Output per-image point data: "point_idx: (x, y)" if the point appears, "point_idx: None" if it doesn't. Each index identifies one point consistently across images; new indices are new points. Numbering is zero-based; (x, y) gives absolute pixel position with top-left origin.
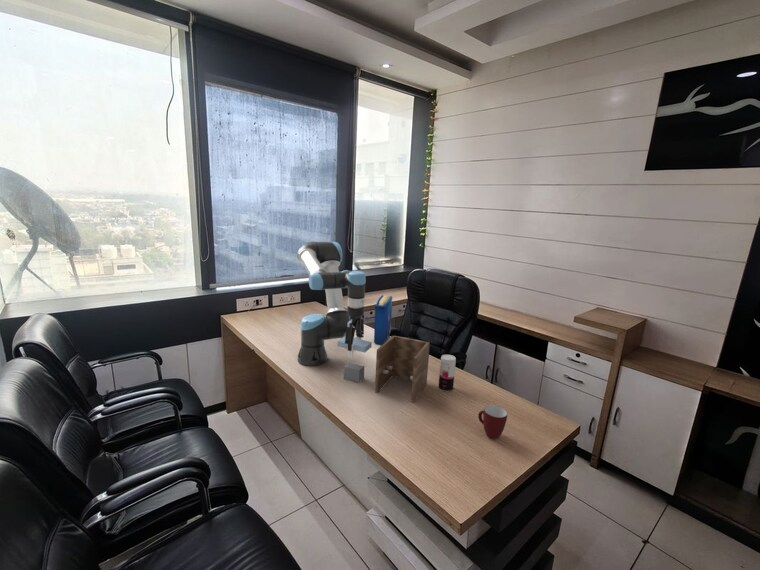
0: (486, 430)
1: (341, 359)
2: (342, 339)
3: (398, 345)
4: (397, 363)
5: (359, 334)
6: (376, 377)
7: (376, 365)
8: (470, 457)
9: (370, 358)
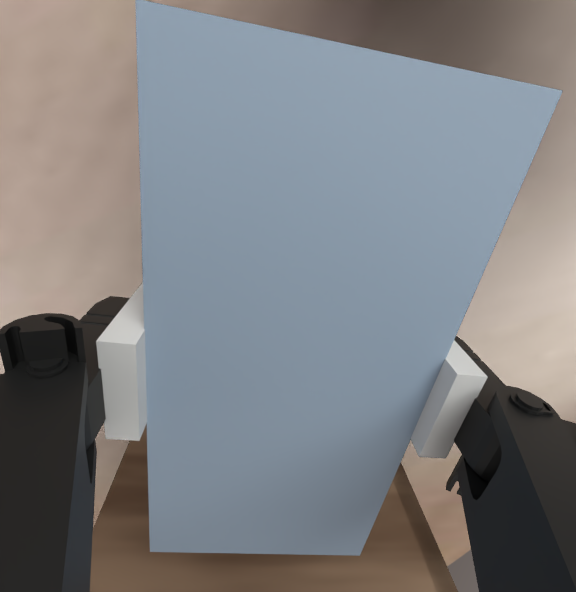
0: None
1: (546, 15)
2: (313, 115)
3: None
4: None
5: (477, 501)
6: (129, 447)
7: (94, 530)
8: None
9: (563, 237)
